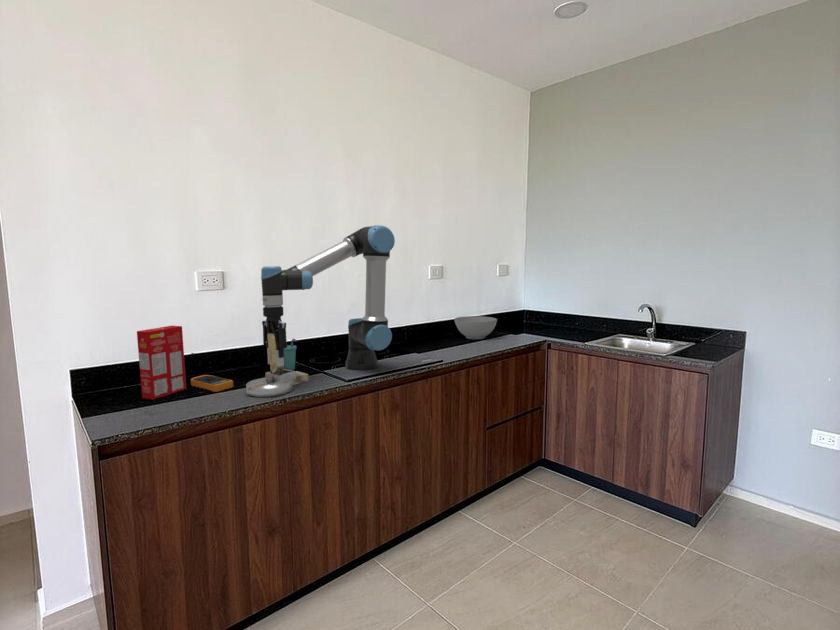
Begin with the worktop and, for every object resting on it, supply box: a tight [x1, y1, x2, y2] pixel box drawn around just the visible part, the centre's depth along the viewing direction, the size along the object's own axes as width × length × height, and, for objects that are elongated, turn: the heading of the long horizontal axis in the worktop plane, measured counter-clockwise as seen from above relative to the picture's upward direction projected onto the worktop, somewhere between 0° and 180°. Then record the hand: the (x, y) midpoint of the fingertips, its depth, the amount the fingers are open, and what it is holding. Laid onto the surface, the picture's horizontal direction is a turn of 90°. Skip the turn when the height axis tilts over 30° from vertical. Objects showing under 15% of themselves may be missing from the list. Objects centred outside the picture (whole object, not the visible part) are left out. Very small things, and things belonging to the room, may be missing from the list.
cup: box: [283, 338, 299, 371], centre depth 210 cm, size 14×8×15 cm, turn 48°
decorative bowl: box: [453, 315, 498, 340], centre depth 291 cm, size 27×27×12 cm
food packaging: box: [136, 325, 187, 401], centre depth 173 cm, size 15×5×25 cm, turn 159°
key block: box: [292, 370, 309, 386], centre depth 191 cm, size 8×8×3 cm
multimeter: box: [190, 374, 234, 393], centre depth 184 cm, size 9×18×3 cm, turn 57°
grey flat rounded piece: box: [245, 369, 297, 398], centre depth 178 cm, size 18×17×6 cm
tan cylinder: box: [267, 333, 284, 375], centre depth 181 cm, size 5×5×18 cm
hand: (275, 364), depth 181 cm, fingers open, 6 cm apart
